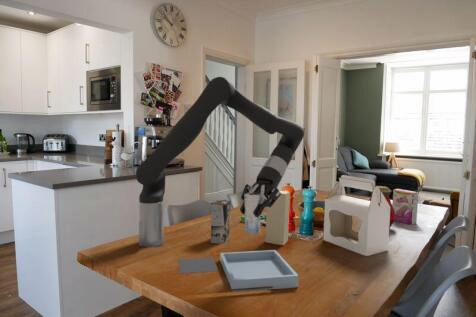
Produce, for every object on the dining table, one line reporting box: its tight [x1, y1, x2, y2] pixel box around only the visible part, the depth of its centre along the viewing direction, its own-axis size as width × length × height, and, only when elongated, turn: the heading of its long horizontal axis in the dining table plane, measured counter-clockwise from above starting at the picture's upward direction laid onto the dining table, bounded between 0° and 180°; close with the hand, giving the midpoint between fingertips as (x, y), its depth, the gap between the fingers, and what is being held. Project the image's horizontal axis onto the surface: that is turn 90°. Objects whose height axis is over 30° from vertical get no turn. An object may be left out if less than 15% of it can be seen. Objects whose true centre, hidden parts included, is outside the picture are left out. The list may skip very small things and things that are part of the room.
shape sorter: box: [240, 212, 301, 227], centre depth 176 cm, size 34×19×5 cm, turn 125°
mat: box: [178, 256, 219, 275], centre depth 114 cm, size 12×12×1 cm
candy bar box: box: [391, 188, 419, 226], centre depth 177 cm, size 11×5×16 cm, turn 34°
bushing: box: [244, 193, 261, 235], centre depth 109 cm, size 5×5×12 cm
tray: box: [219, 249, 300, 293], centre depth 110 cm, size 20×22×4 cm
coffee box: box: [210, 199, 232, 245], centre depth 142 cm, size 9×6×16 cm
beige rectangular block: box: [265, 190, 291, 246], centre depth 142 cm, size 8×7×21 cm
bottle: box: [369, 185, 397, 230], centre depth 165 cm, size 16×14×20 cm
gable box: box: [323, 174, 390, 257], centre depth 139 cm, size 22×13×28 cm, turn 32°
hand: (248, 214), depth 108 cm, fingers closed on bushing, 5 cm apart
